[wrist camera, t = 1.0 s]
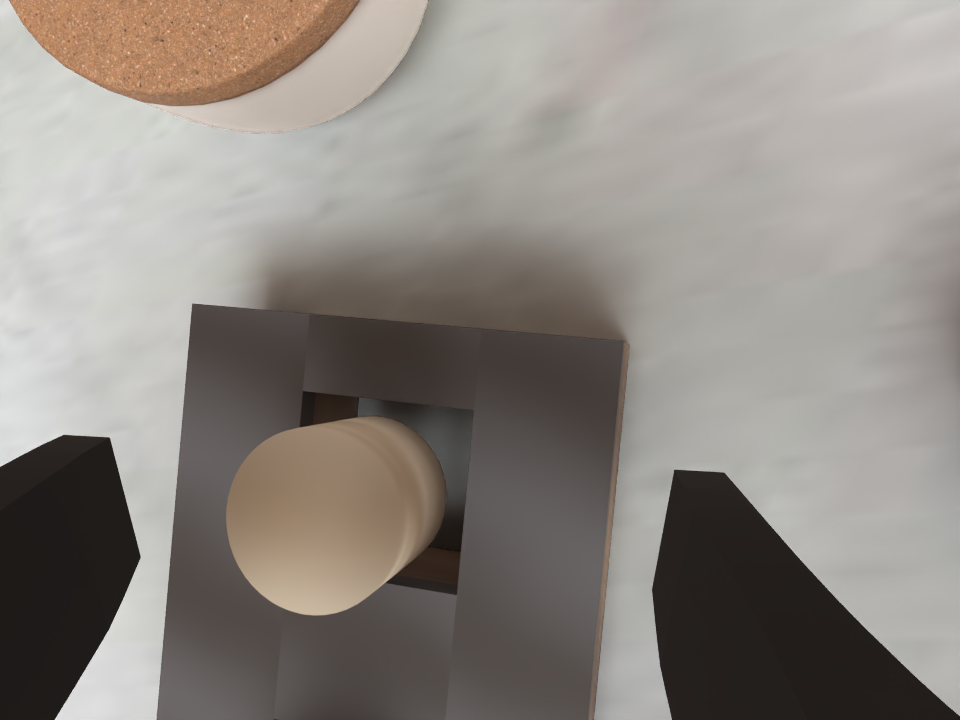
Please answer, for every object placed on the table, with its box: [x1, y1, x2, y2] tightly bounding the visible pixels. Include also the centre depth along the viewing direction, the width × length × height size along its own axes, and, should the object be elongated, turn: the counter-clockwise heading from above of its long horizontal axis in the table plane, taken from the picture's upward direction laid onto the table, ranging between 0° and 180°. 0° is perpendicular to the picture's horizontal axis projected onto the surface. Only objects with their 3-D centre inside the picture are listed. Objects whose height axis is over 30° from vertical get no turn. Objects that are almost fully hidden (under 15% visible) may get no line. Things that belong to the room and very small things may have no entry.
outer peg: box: [226, 416, 447, 615], centre depth 18 cm, size 4×4×4 cm
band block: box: [157, 304, 630, 720], centre depth 22 cm, size 18×12×4 cm, turn 174°
